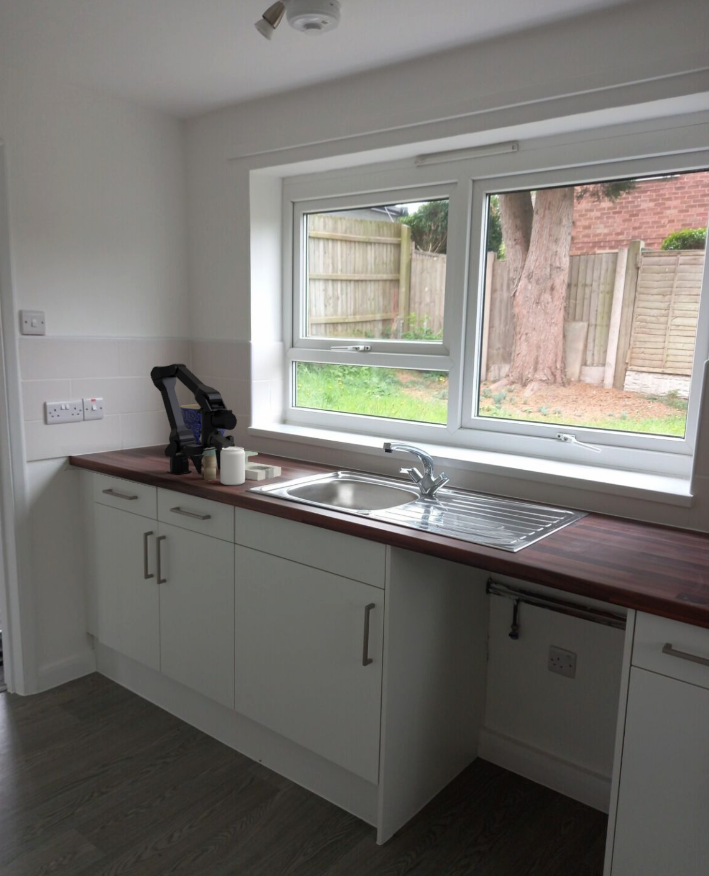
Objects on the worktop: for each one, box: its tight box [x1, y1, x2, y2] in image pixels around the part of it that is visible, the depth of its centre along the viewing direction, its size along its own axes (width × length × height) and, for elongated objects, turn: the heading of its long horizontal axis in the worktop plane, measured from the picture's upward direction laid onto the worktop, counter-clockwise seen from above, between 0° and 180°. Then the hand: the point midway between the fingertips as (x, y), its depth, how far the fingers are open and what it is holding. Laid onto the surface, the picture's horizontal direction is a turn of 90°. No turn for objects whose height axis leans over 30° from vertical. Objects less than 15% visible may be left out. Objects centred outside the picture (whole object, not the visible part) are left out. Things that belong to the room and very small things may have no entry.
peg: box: [203, 455, 217, 481], centre depth 236 cm, size 4×4×8 cm
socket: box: [245, 461, 282, 482], centre depth 244 cm, size 17×12×3 cm
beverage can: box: [219, 446, 246, 486], centre depth 229 cm, size 8×8×12 cm
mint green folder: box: [244, 450, 258, 462], centre depth 249 cm, size 6×10×7 cm, turn 144°
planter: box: [179, 403, 226, 445], centre depth 279 cm, size 18×18×21 cm
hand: (209, 472), depth 236 cm, fingers open, 9 cm apart
